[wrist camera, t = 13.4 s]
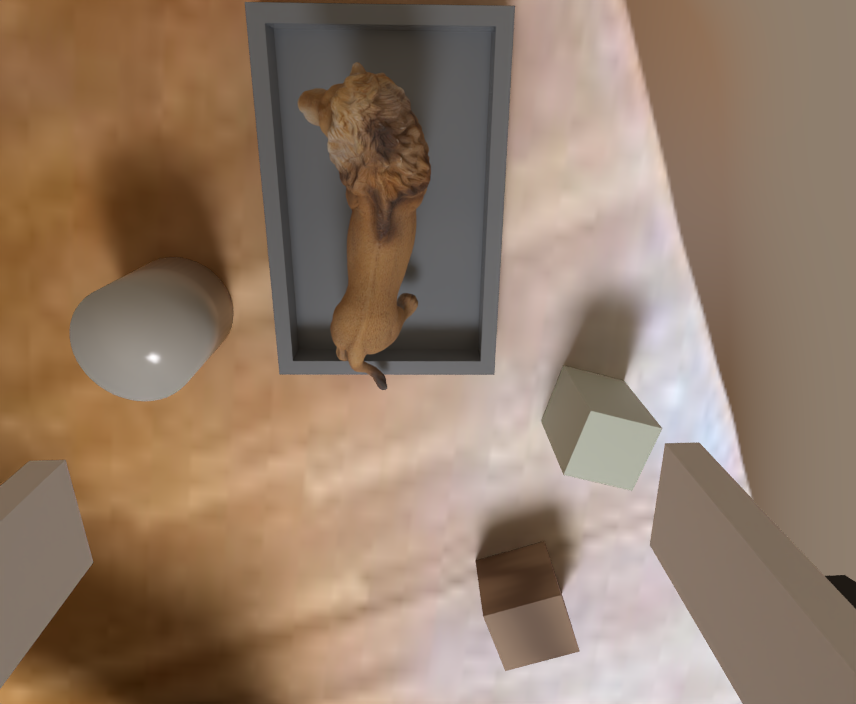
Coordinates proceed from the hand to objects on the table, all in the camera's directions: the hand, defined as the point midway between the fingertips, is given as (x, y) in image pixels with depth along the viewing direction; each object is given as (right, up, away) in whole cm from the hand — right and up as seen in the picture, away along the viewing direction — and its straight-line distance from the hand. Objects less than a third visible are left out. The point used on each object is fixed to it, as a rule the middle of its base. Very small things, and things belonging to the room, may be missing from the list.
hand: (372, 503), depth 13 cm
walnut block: (+8, -13, +28) cm, 32 cm away
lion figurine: (-1, +9, +18) cm, 20 cm away
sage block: (+11, 0, +23) cm, 26 cm away
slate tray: (-1, +11, +18) cm, 22 cm away
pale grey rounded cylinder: (-13, +6, +21) cm, 25 cm away
